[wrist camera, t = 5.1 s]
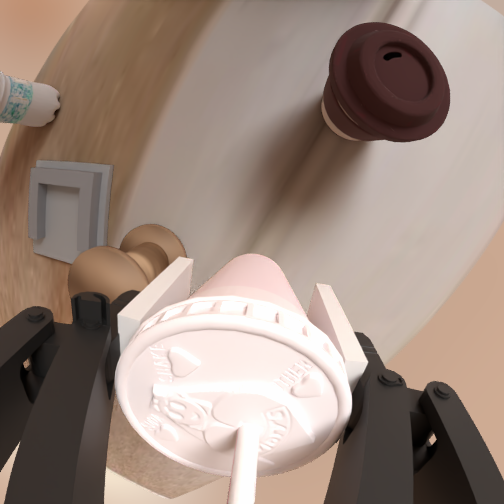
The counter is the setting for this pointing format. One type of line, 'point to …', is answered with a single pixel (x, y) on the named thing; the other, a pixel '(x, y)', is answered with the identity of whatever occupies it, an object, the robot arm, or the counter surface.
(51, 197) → the notch board
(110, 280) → the bobbin
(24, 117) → the bottle
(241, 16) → the counter surface
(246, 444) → the smoothie
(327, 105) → the coffee cup
